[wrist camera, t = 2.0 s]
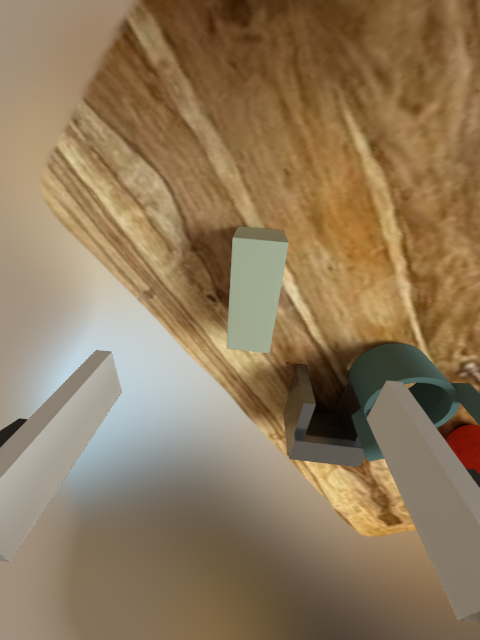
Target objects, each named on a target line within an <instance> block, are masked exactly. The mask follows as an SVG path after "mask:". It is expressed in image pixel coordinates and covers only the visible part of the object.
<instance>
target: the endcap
mask: <svg viewBox="0 0 480 640" xmlns="http://www.w3.org/2000/svg"><path fill="white" fill-rule="evenodd" d="M376 400H377V399H376ZM376 400H375V402H376ZM375 402H374V403H375ZM374 403H373V405H374ZM373 405H372V407H373ZM315 406H316V403H315V399H314V395H313V391H312V387H311V382H310V378H309V374H308V370H307V366H306V365H300V364H296V367H295V371H294V375H293V379H292V383H291V387H290V391H289V395H288V399H287V403H286V407H285V410H284V424H285V434H286V445H287V455H289V459H294V460H303V461H311V462H319V463H328V464H336V465H344V466H353V467H359V466H360V464H361V463H362V461H363V460H364V458H365V454H364V452H363V449H362V446H361V443H360V440H359V437H358V435H357V432H356V429H355V426H354V423H353V420H352V417H351V416H352V415H353V414H354V413H355V412H357V411H358V410H359V409H360V408H361V406H360V403H359V401H358V399H357V396H356V394H355V391H354V389H353V386H352V384H351V381H350V379H349V380H348V382H347V384H346V387H345V389H344V391H343V394H342V396H341V399H340V401H339V403H338V406H337V408H336V410H335V413H334V414H330V413H322V412H313V411H314V408H315ZM371 409H372V408H371ZM370 411H371V410H370ZM369 413H370V412H369ZM368 415H369V414H368ZM367 417H368V416H367Z"/></svg>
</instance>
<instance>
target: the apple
mask: <svg viewBox="0 0 480 640" xmlns="http://www.w3.org/2000/svg"><path fill="white" fill-rule="evenodd" d="M446 442H447V444H448V445H449V446H450V448H451V449H452V451H453V452H454V453H455V455H456V456H457V458H458V459H459V460H460V462H461V463H462V464H463V466H464V467H465V468H468V469H475V470H476V471H477V472H478V473H479V474H480V426H476V425H465V426H462V427H459V428H457V429H455V430H454V431H452V432H451V433H450V434H449V435H448V437H447V439H446Z"/></svg>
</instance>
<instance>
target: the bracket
mask: <svg viewBox="0 0 480 640" xmlns="http://www.w3.org/2000/svg"><path fill="white" fill-rule="evenodd" d="M349 379H350V381H351V384H352V386H353V389H354V391H355V394H356V396H357V399H358V401H359V403H360V406H361V408H360V409H359V410H358V411H357V412H355V413H354V414H353V415H352V416H351V417H352V420H353V423H354V426H355V429H356V432H357V435H358V437H359V440H360V443H361V446H362V449H363V452H364V454H365V456H366V458H367V460H368V461H374V460H379V459H384V456H383V454H382V452H381V450H380V448H379V445H378V443H377V441H376V439H375V437H374V434H373V432H372V430H371V428H370V426H369V423H368V421H367V416H368V414H369V412H370V410H371V408H372V405H373V403H374V402H375V400H376V399H377V398H378V396H379V394H380V392H381V390H382V388H383V386H384V384H385V383H386V381H396V382H403V383H404V384H409V383H416V384H414V385H413V386H412V387H410V388H409V389H408V390H409V391H410V392H411V394H412V395H413V397H414V398H415V399H416V401H417V402H418V403H419V405H420V406H421V408H422V409H423V410H424V412H425V413H426V415H427V416H428V417H429V419H430V420H431V421H432V423H433V424H434V426H435V427H436V428H438V427H440V426H441V425H443V424H444V423H446V422H447V421H449V420H450V419H451V418H452V417H453V416H454V415H455V413H456V412H457V410H458V408H459V405H460V403H461V404H462V405H463V407H464V408H465V409H466V410H467V411H468V412H469V413H470V415H471V416H472V417H473V418H474V419H475V420H476V422H477V423H478V424H479V425H480V393H479V392H478V391H477V390H476V389H475V388H474V387H473V386H472V385H471V384H469V383H450V382H449V381H448V380H447V379H446V378H445V377H444V375H443V374H442V373H441V372H440V371H439V370H438V369H437V368H436V367H435V365H434V364H433V363H432V362H431V361H430V360H429V359H428V358H427V357H426V355H425V354H424V353H423V352H422V351H421V350H419V349H417V348H416V347H413V346H411V345H407V344H401V343H392V344H385V345H380V346H377V347H375V348H372V349H370V350H368V351H366V352H365V353H363V354H362V355H360V356H359V357H358V358H357V359H356V360H355V362H354V363H353V364H352V367H351V369H350V372H349Z"/></svg>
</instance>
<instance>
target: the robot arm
mask: <svg viewBox="0 0 480 640" xmlns="http://www.w3.org/2000/svg"><path fill="white" fill-rule="evenodd" d="M121 393H122V390H121V387H120V383H119V379H118V375H117V371H116V368H115V363H114V359H113V356H112V352H109V351H98V350H96V351H95V352H94V353H93V354H92V355H91V356H90V357H89V358H88V359H87V360H86V361H85V362H84V363H83V364H82V365H81V366H80V367H79V368H78V369H77V370H76V371H75V372H74V373H73V374H72V375H71V376H70V377H69V378H68V379H67V380H66V381H65V383H63V384H62V385H61V386H60V387H59V389H58V390H57V391H56V392H55V393H54V394H53V395H52V396H51V397H50V398H49V399H48V400H47V401H46V402H45V403H44V404H43V405H42V406H41V407H40V408H39V409H38V410H37V411H36V412H35V413H34V414H33V415H32V416H31V417H30V418H29V419H18V420H16V421H15V422H13V423H12V424H10V425H9V426H7V427H5V428H4V429H2V430H1V431H0V561H6V562H10V561H11V559H12V558H13V556H14V555H15V553H16V552H17V550H18V549H19V547H20V546H21V544H22V543H23V541H24V540H25V538H26V537H27V535H28V534H29V532H30V531H31V529H32V527H33V526H34V524H35V523H36V521H37V520H38V518H39V517H40V515H41V514H42V512H43V511H44V509H45V508H46V506H47V505H48V503H49V501H50V500H51V499H52V497H53V496H54V494H55V493H56V491H57V490H58V488H59V486H60V485H61V484H62V482H63V481H64V479H65V478H66V476H67V475H68V473H69V471H70V470H71V469H72V467H73V465H74V464H75V462H76V461H77V459H78V458H79V456H80V455H81V453H82V452H83V450H84V449H85V447H86V446H87V444H88V443H89V441H90V440H91V438H92V437H93V435H94V434H95V432H96V430H97V429H98V428H99V426H100V425H101V423H102V421H103V420H104V419H105V417H106V416H107V414H108V412H109V411H110V409H111V408H112V406H113V405H114V403H115V402H116V400H117V399H118V397H119V396H120V394H121ZM367 421H368V423H369V426H370V428H371V430H372V432H373V434H374V437H375V439H376V441H377V443H378V445H379V448H380V450H381V452H382V454H383V456H384V459H385V461H386V463H387V465H388V467H389V470H390V472H391V474H392V476H393V478H394V481H395V483H396V485H397V487H398V490H399V492H400V494H401V496H402V498H403V501H404V503H405V505H406V507H407V509H408V512H409V514H410V516H411V518H412V520H413V523H414V525H415V527H416V529H417V531H418V534H419V536H420V538H421V540H422V542H423V545H424V547H425V549H426V551H427V553H428V556H429V558H430V560H431V562H432V564H433V567H434V569H435V571H436V573H437V575H438V578H439V580H440V582H441V584H442V587H443V588H444V591H445V593H446V595H447V598H448V600H449V602H450V604H451V606H452V609H453V611H454V613H455V615H456V617H457V620H461V621H469V622H477V623H480V474H479V473H478V472H477V471H476V470H475V469H468V468H465V467H464V466H463V464H462V463H461V462H460V460H459V459H458V458H457V456H456V455H455V453H454V452H453V451H452V449H451V448H450V446H449V445H448V444H447V442H446V441H445V439H444V438H443V437H442V435H441V434H440V433H439V431H438V430H437V428H436V427H435V426H434V424H433V423H432V421H431V420H430V419H429V417H428V416H427V415H426V413H425V412H424V410H423V409H422V408H421V406H420V405H419V403H418V402H417V401H416V399H415V398H414V397H413V395H412V394H411V392H410V391H409V390H408V388H407V387H406V385H405V384H404V383H403V382H396V381H386V383H385V384H384V386H383V388H382V390H381V392H380V394H379V396H378V398H377V400H376V402H375V403H374V405H373V407H372V409H371V411H370V413H369V415H368V417H367Z"/></svg>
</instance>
